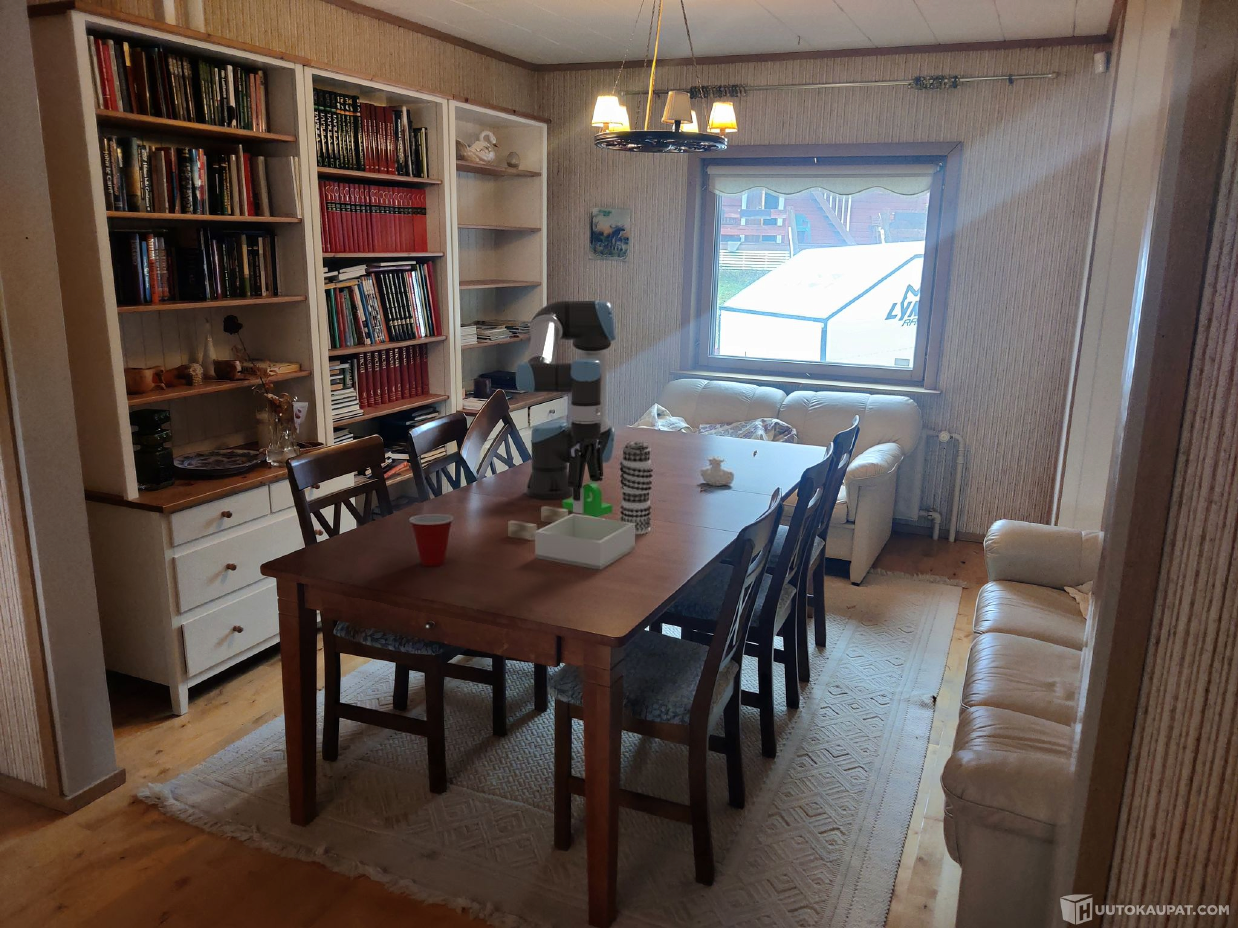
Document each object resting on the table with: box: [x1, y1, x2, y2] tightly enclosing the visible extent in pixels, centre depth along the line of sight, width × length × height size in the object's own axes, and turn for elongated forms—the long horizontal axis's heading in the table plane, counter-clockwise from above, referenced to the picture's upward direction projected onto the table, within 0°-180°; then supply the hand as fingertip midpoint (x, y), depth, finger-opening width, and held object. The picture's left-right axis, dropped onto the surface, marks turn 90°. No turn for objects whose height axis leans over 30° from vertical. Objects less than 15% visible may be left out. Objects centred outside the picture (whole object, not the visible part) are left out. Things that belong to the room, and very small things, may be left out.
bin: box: [534, 513, 636, 571], centre depth 234 cm, size 19×19×7 cm
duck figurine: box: [699, 455, 735, 487], centre depth 306 cm, size 12×8×11 cm
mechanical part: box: [562, 483, 613, 518], centre depth 231 cm, size 12×6×8 cm, turn 48°
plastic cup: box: [409, 513, 454, 567], centre depth 225 cm, size 11×11×12 cm
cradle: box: [507, 505, 569, 541], centre depth 255 cm, size 8×19×4 cm, turn 153°
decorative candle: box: [619, 441, 654, 535], centre depth 253 cm, size 9×9×25 cm
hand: (585, 508), depth 232 cm, fingers closed on mechanical part, 7 cm apart
